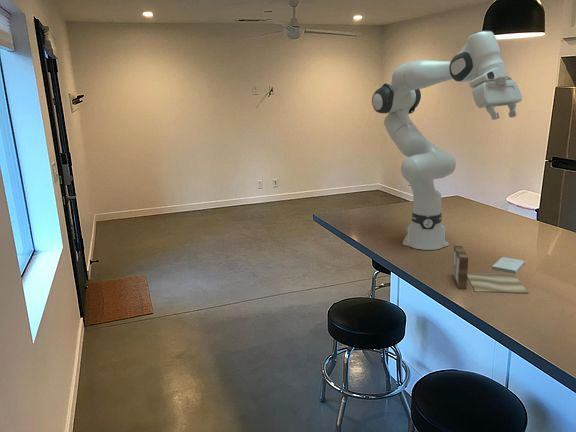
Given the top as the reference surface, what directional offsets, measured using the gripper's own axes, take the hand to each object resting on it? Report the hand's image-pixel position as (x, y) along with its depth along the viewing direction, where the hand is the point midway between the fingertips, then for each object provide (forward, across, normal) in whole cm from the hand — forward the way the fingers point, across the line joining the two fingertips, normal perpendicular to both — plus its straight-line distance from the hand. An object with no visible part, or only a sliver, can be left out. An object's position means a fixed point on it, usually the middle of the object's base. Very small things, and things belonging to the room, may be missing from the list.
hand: (504, 118), depth 153 cm
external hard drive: (+51, -9, -21) cm, 56 cm away
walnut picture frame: (+49, +17, -22) cm, 56 cm away
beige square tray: (+52, +9, -14) cm, 55 cm away
